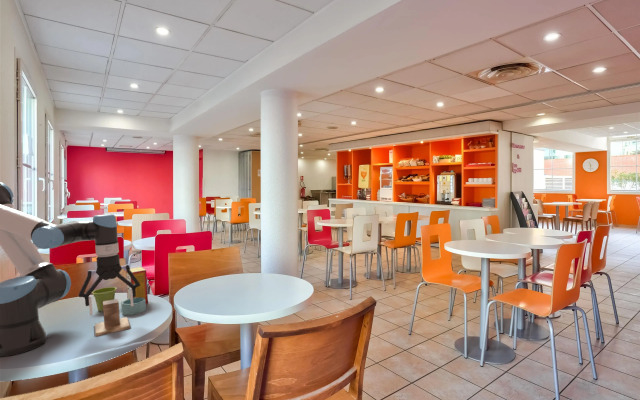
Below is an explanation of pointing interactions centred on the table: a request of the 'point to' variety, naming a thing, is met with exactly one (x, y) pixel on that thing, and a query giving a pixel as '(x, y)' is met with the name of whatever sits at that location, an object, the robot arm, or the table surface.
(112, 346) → the table surface
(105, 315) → the lid
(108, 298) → the plant pot
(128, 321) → the mat
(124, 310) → the bowl
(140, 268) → the baking soda box
